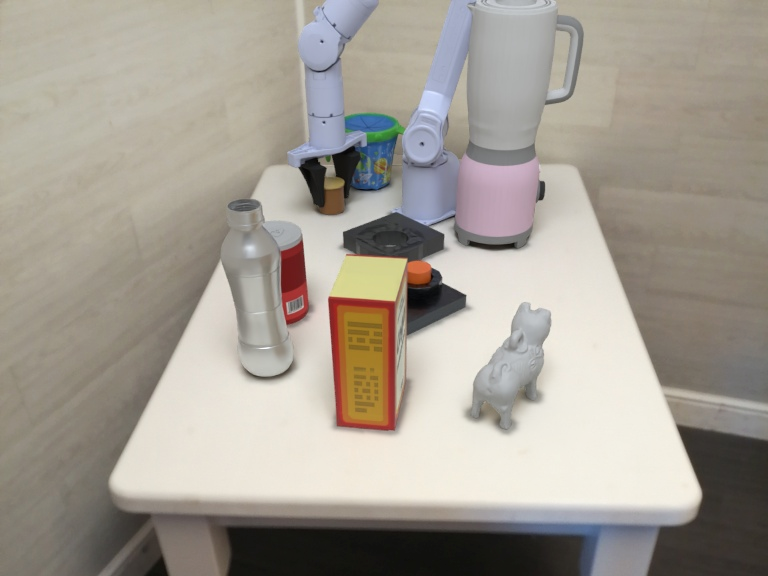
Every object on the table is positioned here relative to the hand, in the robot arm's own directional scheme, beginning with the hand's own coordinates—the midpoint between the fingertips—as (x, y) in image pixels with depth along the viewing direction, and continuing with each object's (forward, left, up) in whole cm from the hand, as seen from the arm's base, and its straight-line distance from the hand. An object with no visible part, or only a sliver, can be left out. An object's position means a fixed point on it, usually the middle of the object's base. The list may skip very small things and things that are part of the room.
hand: (331, 200), depth 121 cm
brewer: (+12, +33, -1) cm, 35 cm away
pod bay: (+2, +18, -1) cm, 18 cm away
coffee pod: (0, 0, -1) cm, 1 cm away
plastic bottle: (+35, +32, -2) cm, 47 cm away
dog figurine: (+18, +56, -2) cm, 59 cm away
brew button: (+10, +32, +2) cm, 34 cm away
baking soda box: (+30, +46, -2) cm, 55 cm away
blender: (-14, +26, -2) cm, 30 cm away
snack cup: (-12, -4, -2) cm, 13 cm away
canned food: (+26, +22, -2) cm, 34 cm away
